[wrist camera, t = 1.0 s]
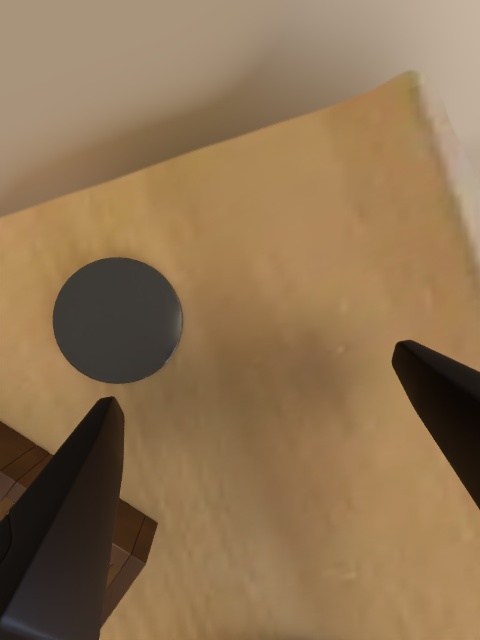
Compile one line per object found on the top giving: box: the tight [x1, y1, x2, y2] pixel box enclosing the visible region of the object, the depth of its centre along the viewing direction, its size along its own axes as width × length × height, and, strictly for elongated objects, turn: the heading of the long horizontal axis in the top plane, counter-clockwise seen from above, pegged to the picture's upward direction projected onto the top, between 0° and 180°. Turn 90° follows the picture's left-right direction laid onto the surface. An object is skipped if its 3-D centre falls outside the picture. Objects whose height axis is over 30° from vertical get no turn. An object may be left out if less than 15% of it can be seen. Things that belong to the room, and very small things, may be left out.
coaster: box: [53, 257, 183, 384], centre depth 24 cm, size 10×10×1 cm
